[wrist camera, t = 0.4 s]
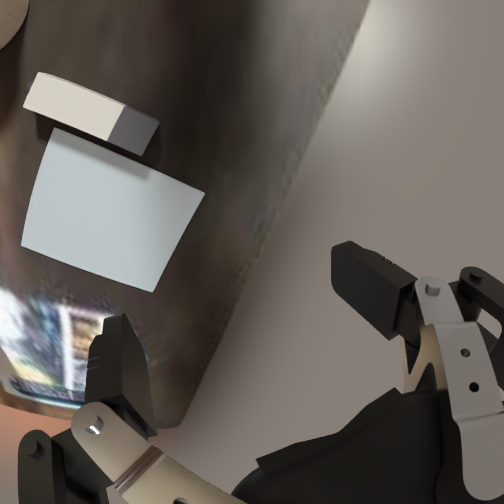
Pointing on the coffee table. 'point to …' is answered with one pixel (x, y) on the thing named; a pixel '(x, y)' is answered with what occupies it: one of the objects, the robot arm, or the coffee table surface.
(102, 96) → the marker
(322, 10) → the coffee table surface
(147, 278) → the paper pad
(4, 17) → the teacup with lid
